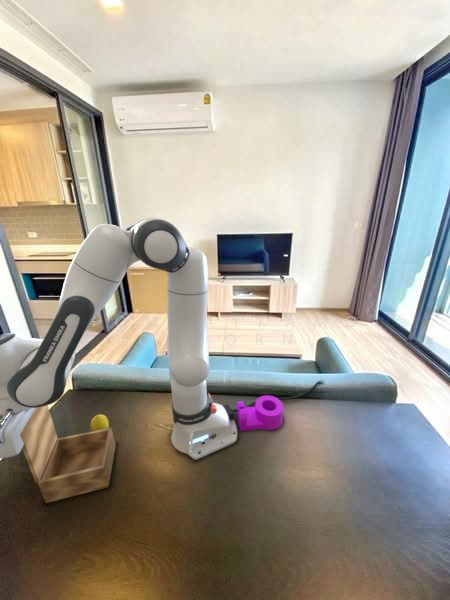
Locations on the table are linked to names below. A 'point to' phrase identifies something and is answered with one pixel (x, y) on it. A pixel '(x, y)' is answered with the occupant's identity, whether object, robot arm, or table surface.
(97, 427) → the lemon
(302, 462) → the table surface
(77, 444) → the chest
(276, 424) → the magenta bearing bracket
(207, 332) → the robot arm
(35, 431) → the lid
